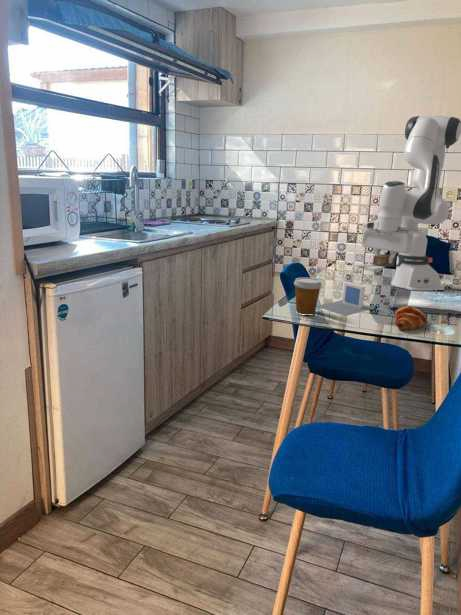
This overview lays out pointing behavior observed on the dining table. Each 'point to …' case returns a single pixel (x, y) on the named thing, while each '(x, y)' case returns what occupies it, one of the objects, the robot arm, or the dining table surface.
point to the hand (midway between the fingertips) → (384, 261)
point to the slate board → (343, 308)
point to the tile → (353, 295)
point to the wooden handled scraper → (378, 263)
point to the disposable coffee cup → (306, 294)
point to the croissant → (409, 318)
